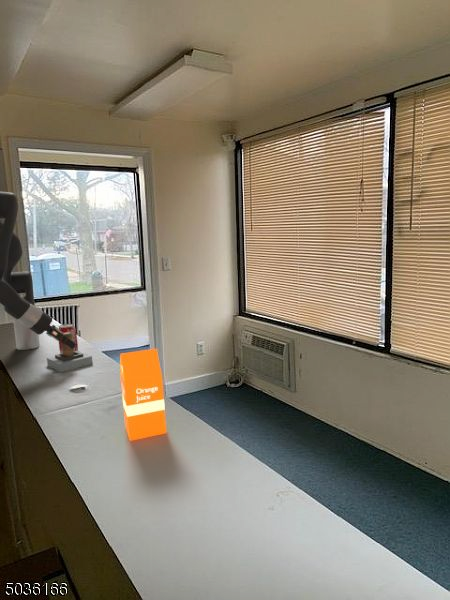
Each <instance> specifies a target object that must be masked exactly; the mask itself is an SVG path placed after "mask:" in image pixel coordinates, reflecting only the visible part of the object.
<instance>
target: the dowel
mask: <svg viewBox="0 0 450 600" xmlns="http://www.w3.org/2000/svg"><path fill="white" fill-rule="evenodd" d="M64 335H65V336H66V337H68V339H70V340H71V341H73V338H72V333H71V332H66V333H64ZM64 338H65V337H64V336H62V338H61V340H63V339H64ZM61 343H62V342H61ZM62 352H63V357H69V356H73V355H74V348H73V349H72V348H70V347H69V346H67V345H66V344H64V343H62Z"/></svg>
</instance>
